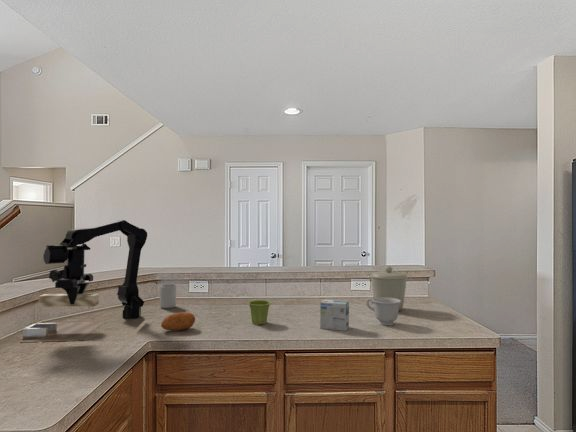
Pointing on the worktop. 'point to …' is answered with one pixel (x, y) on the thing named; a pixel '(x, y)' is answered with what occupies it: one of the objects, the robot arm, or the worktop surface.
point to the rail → (63, 300)
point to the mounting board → (70, 330)
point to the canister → (389, 284)
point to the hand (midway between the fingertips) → (74, 303)
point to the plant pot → (259, 311)
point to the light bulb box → (334, 314)
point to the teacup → (385, 309)
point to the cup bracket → (39, 330)
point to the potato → (178, 321)
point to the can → (168, 295)
